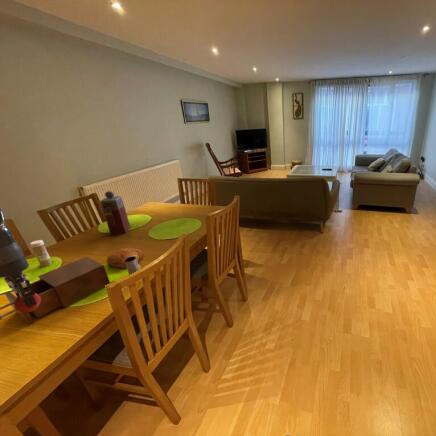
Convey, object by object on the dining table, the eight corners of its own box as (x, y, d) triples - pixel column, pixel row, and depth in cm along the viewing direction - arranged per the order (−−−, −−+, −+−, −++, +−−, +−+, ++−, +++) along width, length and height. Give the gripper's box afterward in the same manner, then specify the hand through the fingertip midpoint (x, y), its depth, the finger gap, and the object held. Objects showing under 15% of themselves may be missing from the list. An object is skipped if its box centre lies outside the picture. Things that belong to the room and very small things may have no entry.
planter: (137, 273, 116) (131, 255, 112) (143, 276, 114) (138, 257, 110) (128, 279, 112) (122, 260, 108) (135, 281, 110) (129, 262, 106)
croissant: (123, 276, 118) (119, 263, 114) (102, 264, 123) (98, 252, 119) (149, 260, 130) (147, 248, 126) (130, 251, 135) (127, 239, 131)
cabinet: (64, 309, 94) (54, 287, 90) (48, 297, 101) (37, 276, 97) (111, 285, 108) (103, 264, 104) (93, 275, 115) (86, 256, 110)
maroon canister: (109, 236, 153) (95, 194, 142) (116, 229, 163) (103, 189, 152) (124, 235, 155) (112, 193, 144) (130, 228, 165) (119, 188, 154)
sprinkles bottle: (48, 267, 122) (37, 243, 117) (38, 267, 121) (26, 244, 116) (55, 262, 126) (44, 239, 121) (45, 262, 125) (34, 240, 120)
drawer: (6, 336, 82) (-7, 316, 78) (-8, 321, 87) (-20, 302, 84) (80, 297, 99) (72, 280, 96) (65, 288, 105) (57, 271, 101)
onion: (22, 320, 76) (11, 299, 73) (17, 313, 79) (6, 293, 76) (47, 308, 80) (37, 289, 77) (41, 302, 83) (32, 283, 80)
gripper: (-22, 257, 72) (3, 302, 78) (-6, 270, 66) (20, 318, 72) (14, 247, 78) (34, 289, 84) (31, 258, 72) (52, 302, 78)
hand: (28, 302), depth 78 cm, fingers closed on onion, 5 cm apart
